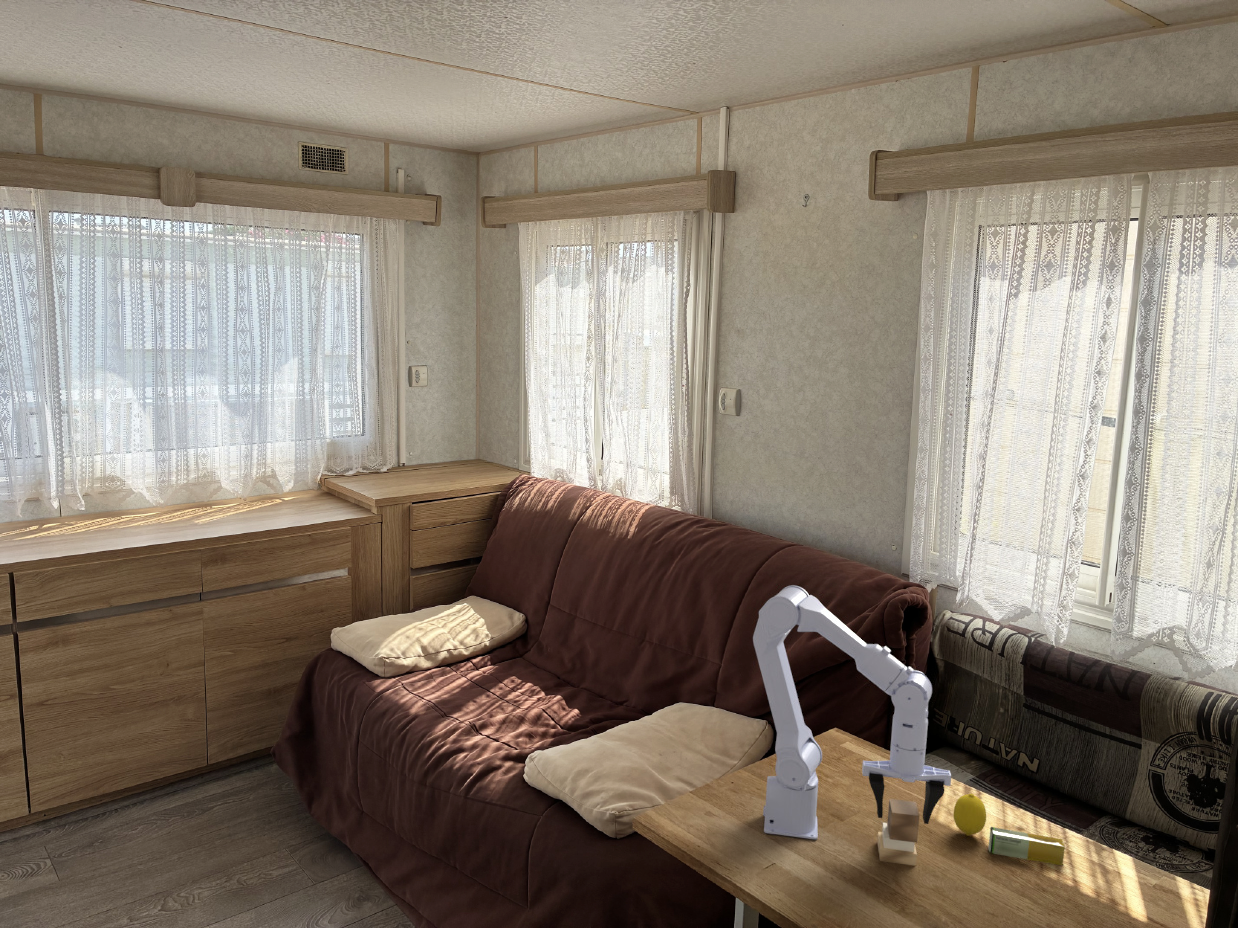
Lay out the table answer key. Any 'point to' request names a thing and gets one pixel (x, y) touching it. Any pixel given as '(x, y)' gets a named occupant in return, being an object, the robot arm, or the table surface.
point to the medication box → (1026, 846)
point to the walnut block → (903, 820)
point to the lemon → (969, 814)
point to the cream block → (895, 842)
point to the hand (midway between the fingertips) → (902, 817)
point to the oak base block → (895, 854)
